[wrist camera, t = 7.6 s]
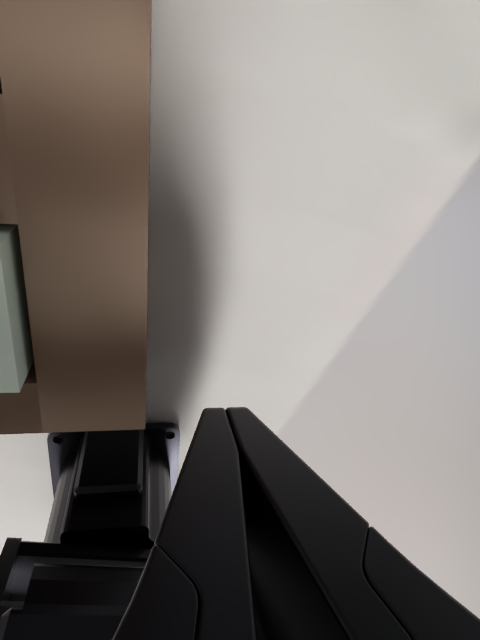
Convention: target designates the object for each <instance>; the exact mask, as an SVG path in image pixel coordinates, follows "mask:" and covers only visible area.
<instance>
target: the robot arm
mask: <svg viewBox="0 0 480 640" xmlns="http://www.w3.org/2000/svg"><path fill="white" fill-rule="evenodd" d="M167 432H173V433H172V434H167ZM55 436H61V437H63V438H57V437H55ZM179 440H180V432H179V427H178V426H177V425H176V424H174V423H154V424H145V429H138V430H109V431H81V432H52V433H49V435H48V439H47V442H48V450H49V459H50V468H51V477H52V485H53V494H54V502H53V506H52V510H51V514H50V518H49V523H48V527H47V531H46V535H45V539H44V542H30V541H21V540H22V538H7V540H6V542H5V545H4V547H3V550H2V553H1V555H0V640H480V619H479V618H478V617H476V616H475V615H474V614H473V613H472V612H470V611H469V610H468V609H467V608H465V607H464V606H463V605H461V604H460V603H459V602H458V601H457V600H455V599H454V598H453V597H451V596H450V595H449V594H448V593H447V592H446V591H444V590H443V589H442V588H441V587H440V586H438V585H437V584H436V583H434V582H433V581H432V580H431V579H430V578H429V577H428V576H426V575H425V574H424V573H423V572H422V571H420V570H419V569H418V568H417V567H416V566H414V565H413V564H412V563H411V562H410V561H409V560H408V559H407V558H406V557H405V556H403V555H402V554H401V553H400V552H399V551H398V550H397V549H396V548H395V547H393V545H391V544H390V543H389V542H388V541H387V540H386V539H385V538H384V537H383V536H382V535H381V534H380V533H379V532H378V531H377V530H376V529H374V528H373V527H369V523H368V522H367V521H366V520H365V519H364V518H362V516H361V515H359V514H358V513H357V512H356V511H355V510H354V509H353V508H352V507H351V506H350V505H349V504H348V503H347V502H346V501H345V500H344V499H343V498H341V497H340V496H339V495H338V494H337V493H336V492H335V491H334V490H333V489H332V488H331V487H330V486H329V485H328V484H327V483H326V482H325V481H324V480H323V479H322V478H320V477H319V476H318V475H317V474H316V473H315V472H314V471H313V470H312V469H311V468H310V467H309V466H308V465H307V464H306V463H305V462H304V461H303V460H302V459H301V458H299V457H298V456H297V455H296V454H295V453H294V452H293V451H292V450H291V449H290V448H289V447H288V446H287V445H286V444H284V442H282V440H280V439H279V438H278V437H277V436H276V435H275V434H274V433H273V432H272V431H271V430H270V429H269V428H268V427H267V426H266V425H265V424H264V423H263V422H262V421H260V420H259V419H258V418H257V417H256V416H255V415H254V414H253V413H252V412H251V411H250V410H249V409H248V408H246V407H230V408H227V409H226V410H225V409H223V408H205V409H204V410H203V412H202V414H201V417H200V420H199V422H198V425H197V428H196V431H195V433H194V436H193V439H192V441H191V444H190V447H189V450H188V452H187V455H186V458H185V460H184V463H183V466H182V469H181V471H180V474H179V477H178V479H177V475H178V458H179Z"/></svg>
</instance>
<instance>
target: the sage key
mask: <svg viewBox="0 0 480 640" xmlns="http://www.w3.org/2000/svg"><path fill="white" fill-rule="evenodd" d="M33 361H34V354H33V346H32V338H31V329H30V321H29V312H28V304H27V296H26V287H25V279H24V271H23V262H22V254H21V245H20V237H19V229H18V225H17V224H0V393H20V391H21V388H22V386H23V384H24V382H25V379H26V377H27V375H28V372H29V370H30V368H31V366H32V363H33Z"/></svg>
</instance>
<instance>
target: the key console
mask: <svg viewBox="0 0 480 640" xmlns="http://www.w3.org/2000/svg"><path fill="white" fill-rule="evenodd" d="M150 64H151V0H0V78H1V80H0V224H17V225H18V229H19V237H20V245H21V254H22V262H23V271H24V279H25V287H26V296H27V304H28V312H29V321H30V329H31V338H32V346H33V354H34V361H33V363H32V366H31V368H30V370H29V372H28V375H27V377H26V379H25V382H24V384H23V386H22V388H21V391H20V393H0V434H23V433H52V432H81V431H109V430H138V429H145V418H146V368H147V295H148V218H149V141H150Z"/></svg>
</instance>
